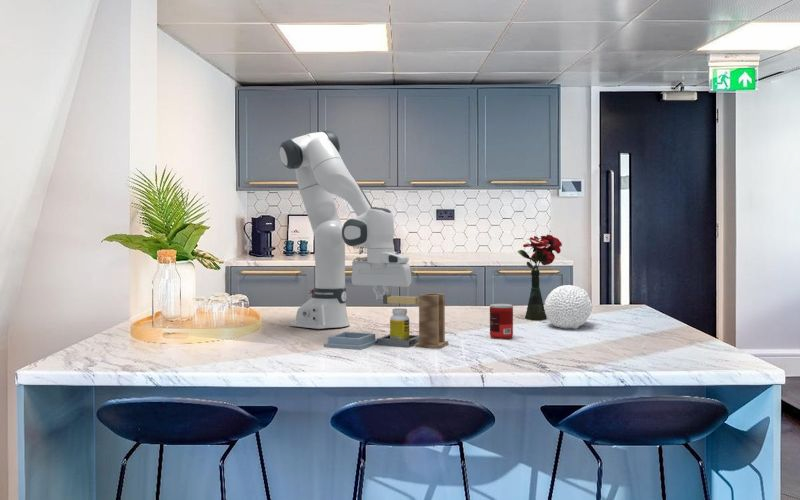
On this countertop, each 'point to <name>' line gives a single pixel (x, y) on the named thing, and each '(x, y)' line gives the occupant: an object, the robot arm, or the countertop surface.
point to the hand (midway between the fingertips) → (381, 300)
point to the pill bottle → (399, 324)
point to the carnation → (545, 257)
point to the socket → (398, 341)
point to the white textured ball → (568, 307)
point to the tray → (351, 340)
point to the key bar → (400, 299)
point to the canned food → (501, 321)
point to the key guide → (432, 321)
